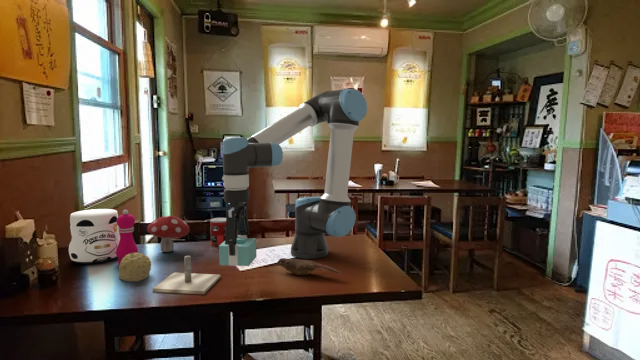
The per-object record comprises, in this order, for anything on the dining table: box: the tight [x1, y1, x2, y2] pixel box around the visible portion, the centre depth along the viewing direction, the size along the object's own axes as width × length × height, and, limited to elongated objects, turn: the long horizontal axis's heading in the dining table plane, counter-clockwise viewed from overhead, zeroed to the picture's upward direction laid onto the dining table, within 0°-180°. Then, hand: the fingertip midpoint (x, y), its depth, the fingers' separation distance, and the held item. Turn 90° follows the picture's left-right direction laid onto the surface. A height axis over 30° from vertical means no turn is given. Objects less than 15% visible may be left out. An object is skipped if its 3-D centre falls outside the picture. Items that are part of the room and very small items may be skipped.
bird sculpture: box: [272, 257, 342, 276], centre depth 134 cm, size 7×25×5 cm, turn 71°
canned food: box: [209, 217, 226, 247], centre depth 170 cm, size 8×8×11 cm
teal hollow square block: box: [218, 237, 258, 267], centre depth 122 cm, size 9×9×6 cm
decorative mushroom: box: [146, 215, 191, 253], centre depth 158 cm, size 16×16×15 cm
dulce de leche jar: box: [68, 208, 120, 265], centre depth 147 cm, size 17×17×18 cm
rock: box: [118, 252, 152, 282], centre depth 130 cm, size 10×11×10 cm
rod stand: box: [152, 255, 221, 295], centre depth 124 cm, size 16×14×9 cm
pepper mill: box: [116, 209, 139, 266], centre depth 142 cm, size 7×7×20 cm
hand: (238, 259), depth 123 cm, fingers closed on teal hollow square block, 9 cm apart
